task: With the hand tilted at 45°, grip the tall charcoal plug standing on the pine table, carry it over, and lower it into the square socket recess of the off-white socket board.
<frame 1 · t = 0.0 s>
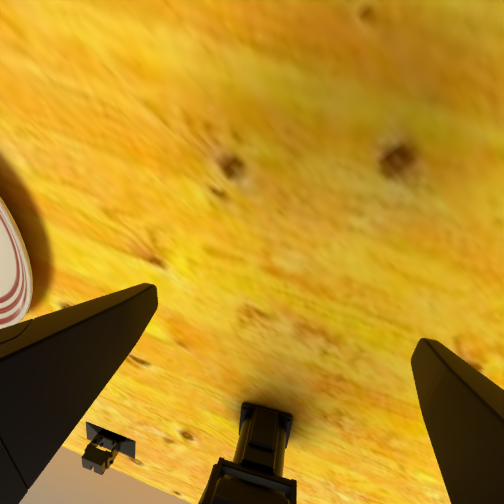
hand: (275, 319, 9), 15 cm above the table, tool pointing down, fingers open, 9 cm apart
black boxy piece: (113, 435, 45), on the table
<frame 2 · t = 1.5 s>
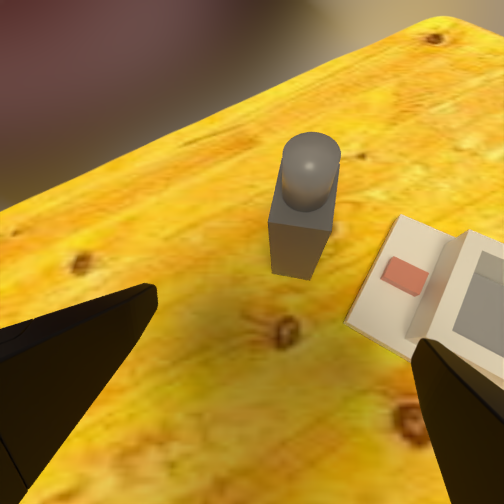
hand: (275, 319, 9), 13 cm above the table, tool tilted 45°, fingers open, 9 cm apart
plug: (294, 254, 24), on the table
socket board: (467, 317, 20), on the table
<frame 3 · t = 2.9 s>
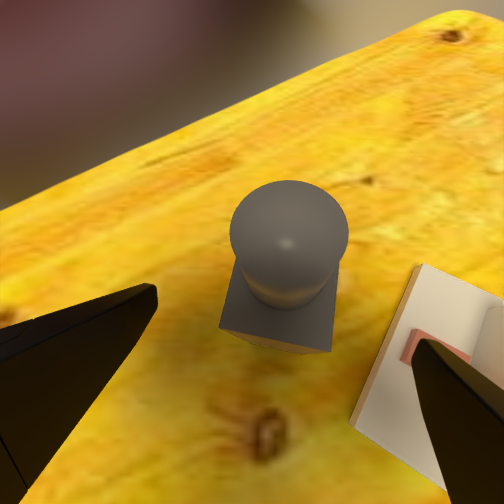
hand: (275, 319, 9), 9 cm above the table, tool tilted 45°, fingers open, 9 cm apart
plug: (281, 315, 18), on the table
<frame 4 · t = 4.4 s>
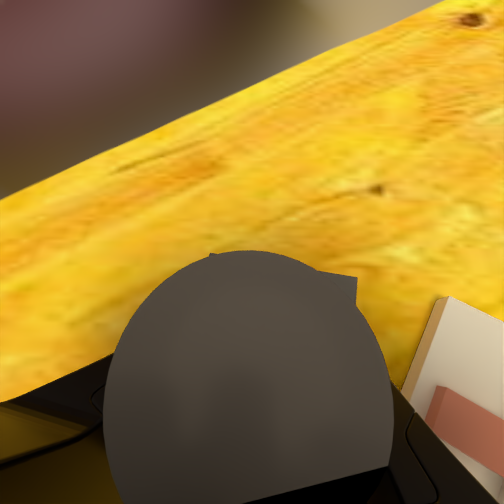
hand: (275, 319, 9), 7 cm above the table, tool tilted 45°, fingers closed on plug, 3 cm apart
plug: (272, 359, 14), on the table, touching gripper
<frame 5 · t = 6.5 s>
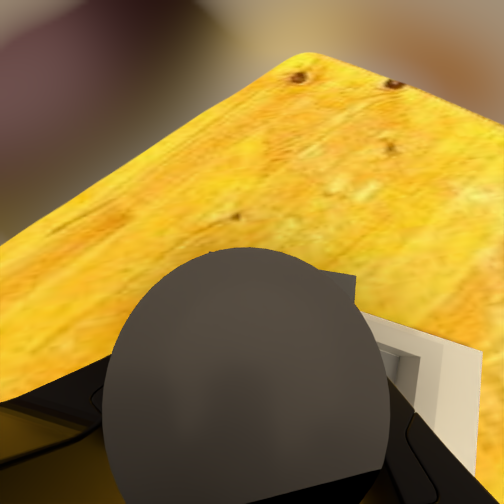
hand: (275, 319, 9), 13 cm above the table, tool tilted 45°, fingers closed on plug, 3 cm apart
plug: (272, 358, 14), point 7 cm above the table, touching gripper
socket board: (348, 385, 19), on the table
when the fingers open (8 cm above the table, at t = 8.6 s): plug stays where it is, resting on socket board.
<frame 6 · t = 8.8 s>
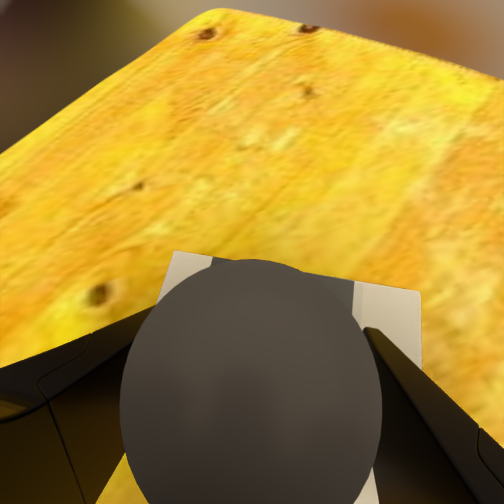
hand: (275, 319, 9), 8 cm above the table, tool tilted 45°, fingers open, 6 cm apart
plug: (272, 358, 15), point 1 cm above the table, touching socket board
socket board: (273, 358, 16), on the table
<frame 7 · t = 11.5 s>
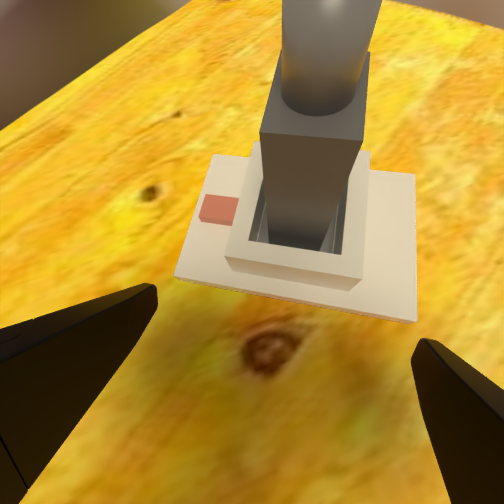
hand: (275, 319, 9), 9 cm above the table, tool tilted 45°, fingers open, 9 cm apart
plug: (298, 222, 18), point 1 cm above the table, touching socket board
socket board: (296, 230, 20), on the table
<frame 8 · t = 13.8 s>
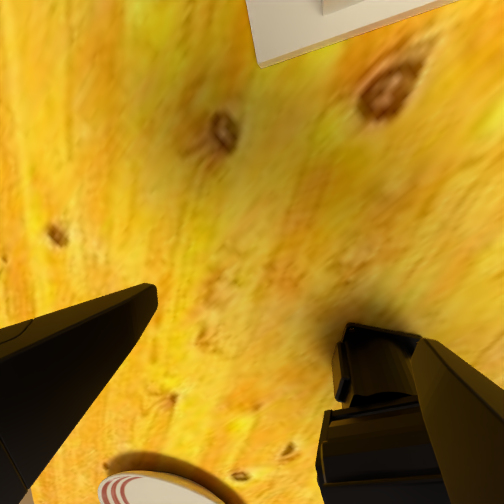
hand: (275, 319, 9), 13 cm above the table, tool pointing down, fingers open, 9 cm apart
dinner plate: (182, 501, 44), on the table
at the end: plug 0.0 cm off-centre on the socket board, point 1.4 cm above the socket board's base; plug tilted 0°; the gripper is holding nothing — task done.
